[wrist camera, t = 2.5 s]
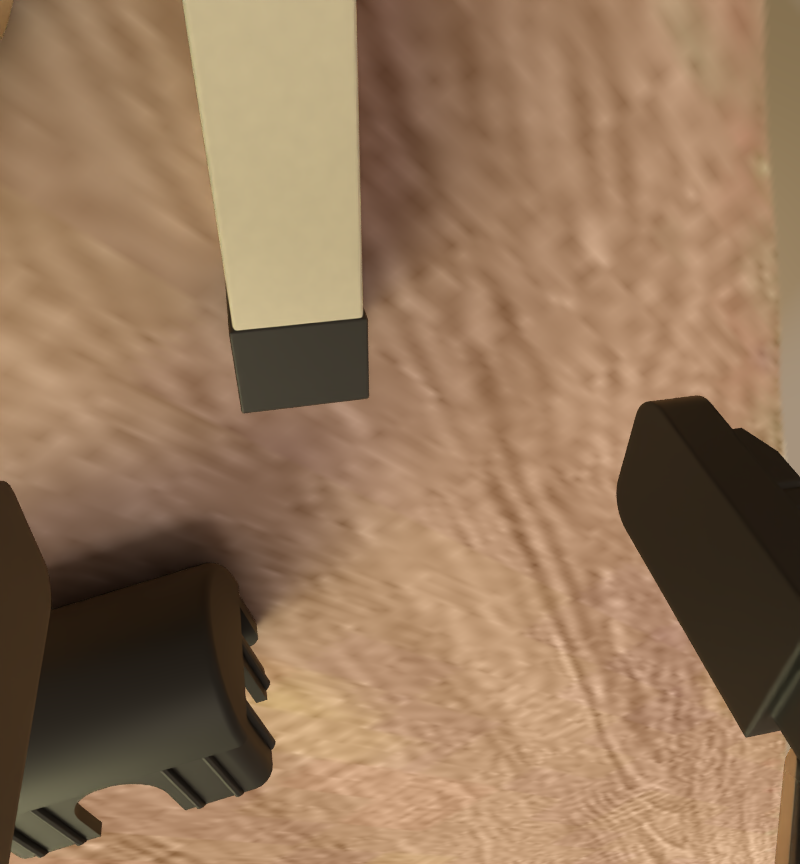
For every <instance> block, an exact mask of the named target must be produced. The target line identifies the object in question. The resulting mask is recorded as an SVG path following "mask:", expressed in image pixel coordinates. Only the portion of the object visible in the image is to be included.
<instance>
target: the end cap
mask: <svg viewBox="0 0 800 864" xmlns="http://www.w3.org/2000/svg"><path fill="white" fill-rule="evenodd" d="M257 640H258V635H257V625H256V622H255V620H254V619H253V617H252V615H251V614H250V612H249V610H248V609H247V607H246V605H245V604H244V602H243V600H242V599H241V597H240V595H239V585H238V583H237V581H236V580H235V578H234V577H233V576H232V574H231V573H230V572H229V571H228V570H227V569H226V568H225V567H223V566H221V565H219V564H217V563H205V564H202V565H198V566H195V567H192V568H189V569H185V570H182V571H179V572H175V573H172V574H169V575H165V576H162V577H159V578H155V579H152V580H149V581H146V582H142V583H139V584H136V585H132V586H129V587H126V588H122V589H119V590H116V591H112V592H109V593H106V594H103V595H99V596H96V597H93V598H89V599H86V600H83V601H79V602H76V603H73V604H69V605H66V606H63V607H60V608H56V609H53V610H51V611H50V618H49V624H48V630H47V636H46V642H45V648H44V654H43V660H42V666H41V672H40V678H39V684H38V690H37V696H36V702H35V708H34V714H33V720H32V726H31V732H30V738H29V744H28V750H27V756H26V762H25V768H24V774H23V780H22V786H21V792H20V798H19V804H18V810H17V816H16V822H15V828H14V834H13V840H12V846H11V852H12V853H14V854H15V855H17V856H18V857H20V858H24V859H26V858H32V857H35V856H37V857H38V858H41V857H43V856H45V855H46V854H47V853H48V852H51V851H54V850H58V849H61V848H64V847H67V846H71V845H74V844H76V845H77V846H80V845H82V844H84V843H85V842H86V841H87V840H90V839H93V838H97V837H100V836H101V828H102V822H101V821H99V820H98V819H97V818H96V817H94V816H93V815H92V814H90V813H89V812H88V811H87V810H85V809H84V808H83V807H82V806H80V805H79V803H78V802H79V801H80V800H81V799H82V798H83V797H85V796H86V795H88V794H90V793H92V792H94V791H97V790H101V789H104V788H107V787H110V786H116V785H123V784H143V785H150V786H154V787H158V788H160V789H162V790H164V791H165V792H167V793H168V794H169V795H170V796H171V797H172V798H173V799H174V800H175V801H176V802H177V803H178V804H179V805H180V806H181V807H182V808H184V809H185V810H188V809H191V808H194V807H196V808H197V809H200V808H202V807H204V806H205V805H206V804H207V803H211V802H214V801H217V800H220V799H224V798H227V797H230V796H233V795H235V796H236V797H239V796H241V795H242V794H243V793H244V792H246V791H250V790H253V789H256V788H258V787H260V786H262V785H263V784H264V783H265V782H266V781H267V780H268V778H269V777H270V775H271V772H272V766H273V763H272V751H271V750H272V749H273V748H274V746H275V742H276V741H275V740H274V738H273V737H272V735H271V734H270V732H269V731H268V730H267V728H266V727H265V725H264V724H263V723H262V721H261V720H260V718H259V717H258V716H257V714H256V713H255V711H254V710H253V709H252V707H251V706H250V704H249V703H248V701H247V700H246V696H245V687H246V689H247V690H248V692H249V693H250V695H251V696H252V697H253V699H254V700H255V702H256V703H258V702H261V701H264V700H267V693H266V690H267V689H268V687H269V685H270V681H269V679H268V678H267V676H266V675H265V671H264V668H263V666H262V665H261V663H260V662H259V660H258V659H257V657H256V655H255V654H254V652H253V651H252V649H251V648H250V646H252V645H254V644H255V643H256V641H257Z"/></svg>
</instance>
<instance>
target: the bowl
mask: <svg viewBox="0 0 800 864" xmlns="http://www.w3.org/2000/svg"><path fill="white" fill-rule="evenodd" d="M13 1H14V0H0V41H1V39H2V38H3V36H4V31H5V30H6V28H7V25H8V21H9V17H10V13H11V9H12V5H13Z"/></svg>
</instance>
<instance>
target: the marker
mask: <svg viewBox="0 0 800 864" xmlns="http://www.w3.org/2000/svg"><path fill="white" fill-rule="evenodd" d="M182 3H183V10H184V16H185V23H186V29H187V35H188V42H189V48H190V55H191V61H192V68H193V74H194V81H195V87H196V94H197V100H198V106H199V113H200V119H201V126H202V132H203V139H204V145H205V152H206V158H207V165H208V171H209V178H210V184H211V190H212V197H213V203H214V210H215V216H216V223H217V229H218V236H219V242H220V249H221V255H222V261H223V268H224V274H225V285H226V299H227V312H228V325H229V336H230V342H231V349H232V355H233V361H234V368H235V374H236V380H237V386H238V393H239V399H240V405H241V411H242V413H251V412H260V411H268V410H276V409H285V408H293V407H301V406H310V405H318V404H326V403H335V402H343V401H351V400H360V399H367V398H369V362H368V319H367V316H366V313H365V310H364V307H363V283H362V237H361V192H360V147H359V102H358V57H357V11H356V0H182Z"/></svg>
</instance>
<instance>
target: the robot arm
mask: <svg viewBox="0 0 800 864" xmlns="http://www.w3.org/2000/svg"><path fill="white" fill-rule="evenodd" d="M617 505H618V510H619V514H620V518H621V520H622V523H623V525H624V527H625V529H626V531H627V533H628V534H629V536H630V538H631V540H632V541H633V543H634V545H635V547H636V548H637V550H638V552H639V553H640V555H641V557H642V559H643V560H644V562H645V564H646V566H647V567H648V569H649V571H650V573H651V574H652V576H653V578H654V579H655V581H656V583H657V585H658V586H659V588H660V590H661V592H662V593H663V595H664V597H665V599H666V600H667V602H668V604H669V605H670V607H671V609H672V611H673V612H674V614H675V616H676V618H677V619H678V621H679V623H680V625H681V626H682V628H683V630H684V631H685V633H686V635H687V637H688V638H689V640H690V642H691V644H692V645H693V647H694V649H695V651H696V652H697V654H698V656H699V657H700V659H701V661H702V663H703V664H704V666H705V668H706V670H707V671H708V673H709V675H710V677H711V678H712V680H713V682H714V683H715V685H716V687H717V689H718V690H719V692H720V694H721V696H722V697H723V699H724V701H725V703H726V704H727V706H728V708H729V710H730V711H731V713H732V715H733V716H734V718H735V720H736V722H737V723H738V725H739V727H740V729H741V730H742V732H743V734H744V736H745V737H751V736H756V735H761V734H766V733H771V732H775V731H780V730H781V732H782V734H783V735H784V737H785V738H786V740H787V742H788V743H789V745H790V747H791V749H790V750H789V752H788V754H787V756H786V759H785V763H784V772H783V782H782V792H781V803H780V813H779V824H778V834H777V845H776V855H775V864H800V477H799V475H798V474H797V473H796V472H795V471H794V470H793V469H792V467H791V466H790V465H789V464H788V463H787V462H786V460H785V459H784V458H783V457H782V456H781V455H780V454H779V452H778V451H776V450H775V449H773V448H772V447H770V446H769V445H767V444H766V443H764V442H763V441H761V440H759V439H758V438H756V437H755V436H753V435H752V434H750V433H749V432H747V431H746V430H744V429H743V428H738V429H732V428H731V427H730V426H729V424H728V423H727V422H726V421H725V420H724V418H723V417H722V416H721V415H720V414H719V412H718V411H717V410H716V409H715V408H714V406H713V405H712V404H711V403H710V402H709V401H708V400H707V399H706V398H704V397H702V396H689V397H681V398H673V399H665V400H657V401H649V402H645V403H643V404H642V405H641V406H640V407H639V409H638V411H637V414H636V417H635V420H634V424H633V428H632V431H631V435H630V439H629V442H628V446H627V450H626V453H625V457H624V460H623V464H622V468H621V471H620V475H619V479H618V483H617ZM50 611H51V588H50V580H49V575H48V570H47V567H46V564H45V561H44V559H43V557H42V554H41V552H40V550H39V548H38V545H37V543H36V541H35V539H34V536H33V534H32V532H31V530H30V527H29V525H28V523H27V521H26V518H25V516H24V514H23V512H22V509H21V507H20V505H19V503H18V500H17V498H16V496H15V494H14V492H13V490H12V488H11V487H10V485H9V484H8V483H7V482H5V481H0V864H9V858H10V852H11V846H12V840H13V834H14V828H15V822H16V816H17V810H18V804H19V798H20V792H21V786H22V780H23V774H24V768H25V762H26V756H27V750H28V744H29V738H30V732H31V726H32V720H33V714H34V708H35V702H36V696H37V690H38V684H39V678H40V672H41V666H42V660H43V654H44V648H45V642H46V636H47V630H48V624H49V618H50Z"/></svg>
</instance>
